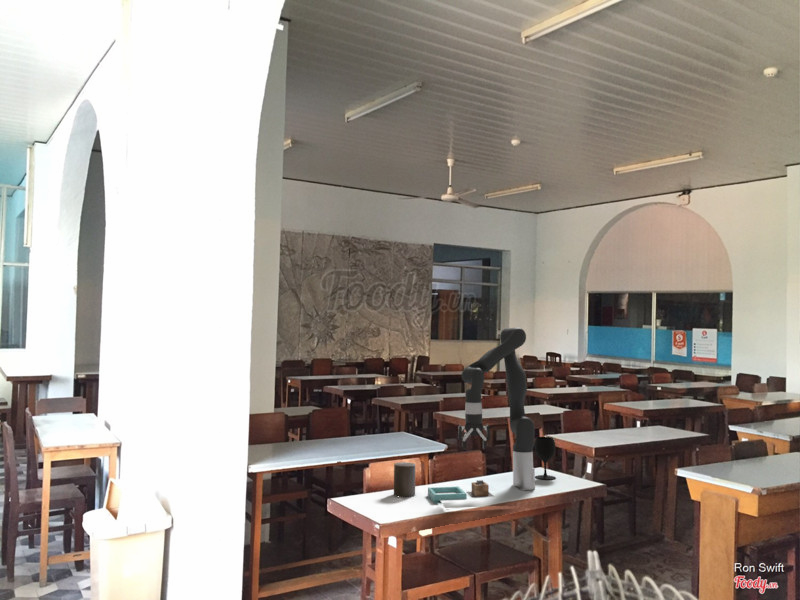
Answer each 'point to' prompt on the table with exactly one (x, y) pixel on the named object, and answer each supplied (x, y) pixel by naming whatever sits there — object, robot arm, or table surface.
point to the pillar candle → (404, 479)
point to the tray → (438, 497)
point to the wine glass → (545, 454)
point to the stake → (479, 496)
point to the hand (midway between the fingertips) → (474, 449)
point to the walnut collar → (480, 489)
